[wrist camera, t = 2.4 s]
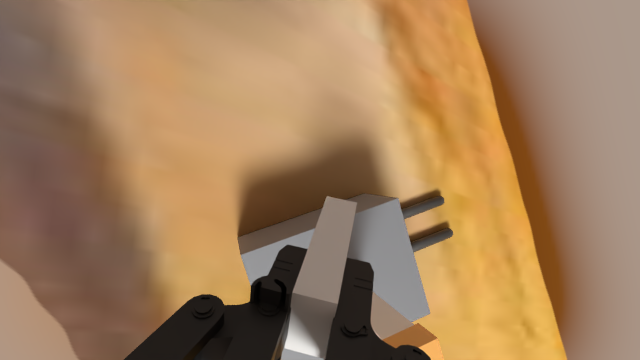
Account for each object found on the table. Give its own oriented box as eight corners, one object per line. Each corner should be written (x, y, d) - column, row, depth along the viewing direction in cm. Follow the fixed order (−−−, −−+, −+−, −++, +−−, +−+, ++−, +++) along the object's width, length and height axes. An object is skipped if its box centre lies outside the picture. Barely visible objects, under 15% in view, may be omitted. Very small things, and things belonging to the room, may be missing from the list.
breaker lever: (332, 305, 37) (402, 392, 22) (325, 283, 37) (392, 358, 22) (362, 292, 38) (450, 368, 23) (356, 271, 38) (441, 334, 23)
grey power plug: (270, 338, 46) (282, 382, 36) (237, 237, 45) (240, 255, 35) (456, 258, 53) (508, 278, 43) (432, 169, 52) (481, 168, 42)
